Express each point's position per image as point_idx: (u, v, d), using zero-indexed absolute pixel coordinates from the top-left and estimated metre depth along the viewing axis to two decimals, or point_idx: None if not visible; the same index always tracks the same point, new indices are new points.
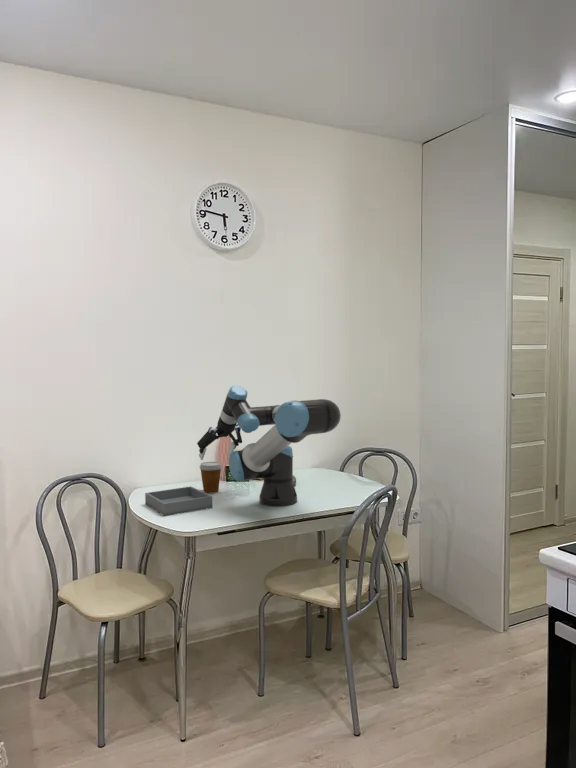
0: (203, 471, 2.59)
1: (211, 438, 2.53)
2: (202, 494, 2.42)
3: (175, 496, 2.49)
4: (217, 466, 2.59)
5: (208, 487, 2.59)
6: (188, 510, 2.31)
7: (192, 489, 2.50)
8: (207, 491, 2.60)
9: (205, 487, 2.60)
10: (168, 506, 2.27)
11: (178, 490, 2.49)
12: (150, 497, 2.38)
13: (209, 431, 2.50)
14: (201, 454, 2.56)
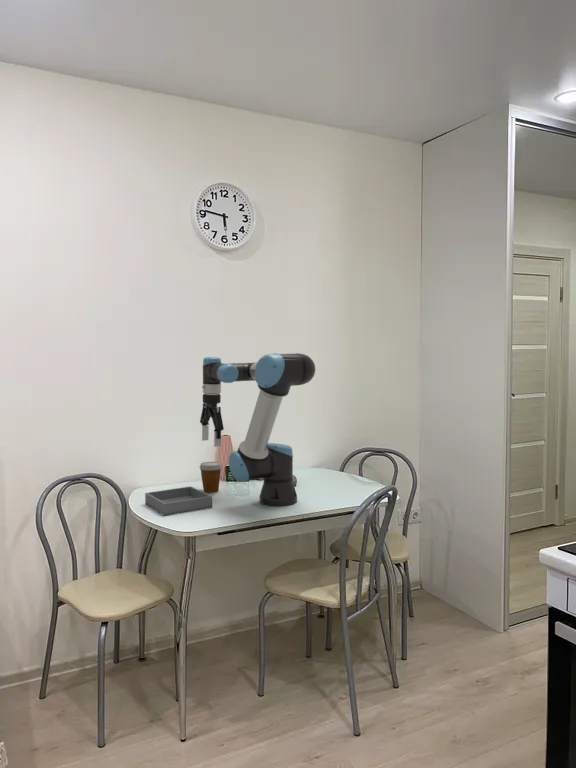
0: (203, 471, 2.59)
1: None
2: (202, 494, 2.42)
3: (175, 496, 2.49)
4: (217, 466, 2.59)
5: (208, 487, 2.59)
6: (188, 510, 2.31)
7: (192, 489, 2.50)
8: (207, 491, 2.60)
9: (205, 487, 2.60)
10: (168, 506, 2.27)
11: (178, 490, 2.49)
12: (150, 497, 2.38)
13: (217, 410, 2.54)
14: (218, 441, 2.55)
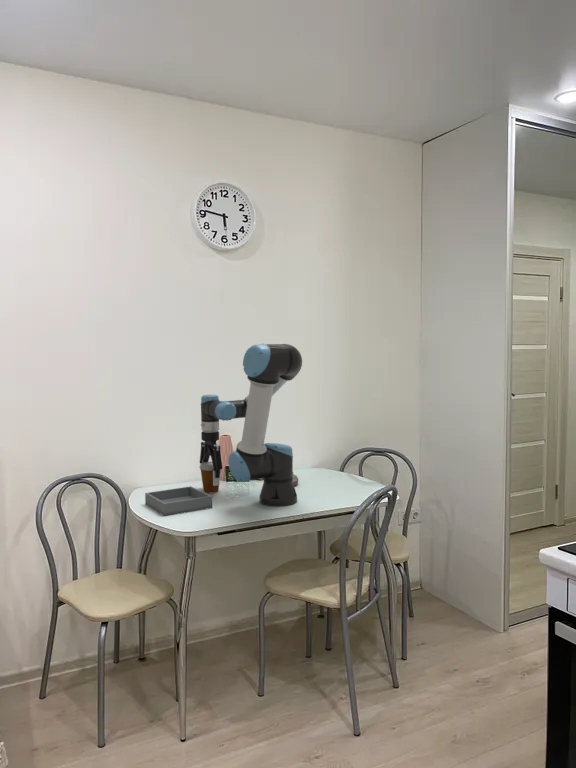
0: (203, 471, 2.59)
1: None
2: (202, 494, 2.42)
3: (175, 496, 2.49)
4: None
5: (208, 487, 2.59)
6: (188, 510, 2.31)
7: (192, 489, 2.50)
8: (207, 491, 2.60)
9: (205, 487, 2.60)
10: (168, 506, 2.27)
11: (178, 490, 2.49)
12: (150, 497, 2.38)
13: (217, 449, 2.56)
14: (217, 480, 2.58)
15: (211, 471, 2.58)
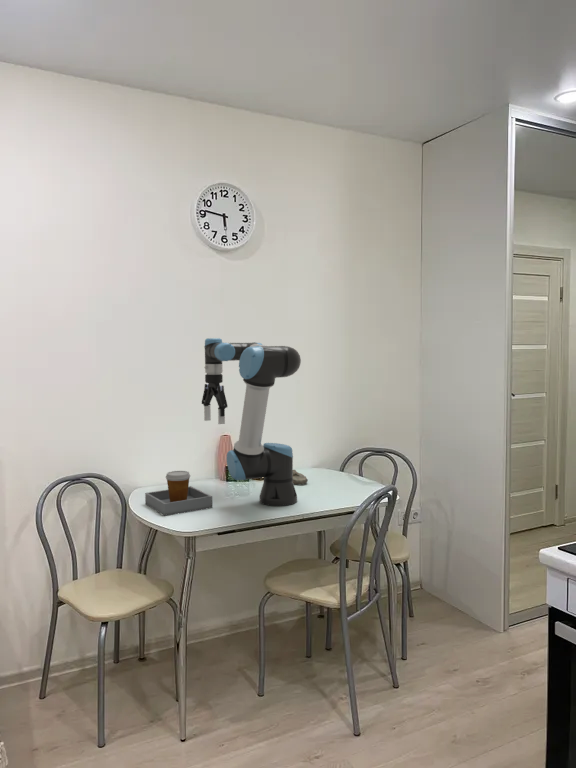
0: (169, 481, 2.36)
1: None
2: (202, 494, 2.42)
3: None
4: (185, 476, 2.36)
5: (175, 499, 2.36)
6: (188, 510, 2.31)
7: (192, 489, 2.50)
8: None
9: (172, 499, 2.37)
10: (168, 506, 2.27)
11: None
12: (150, 497, 2.38)
13: (221, 389, 2.62)
14: (222, 418, 2.63)
15: (178, 481, 2.35)
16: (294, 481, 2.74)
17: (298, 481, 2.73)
